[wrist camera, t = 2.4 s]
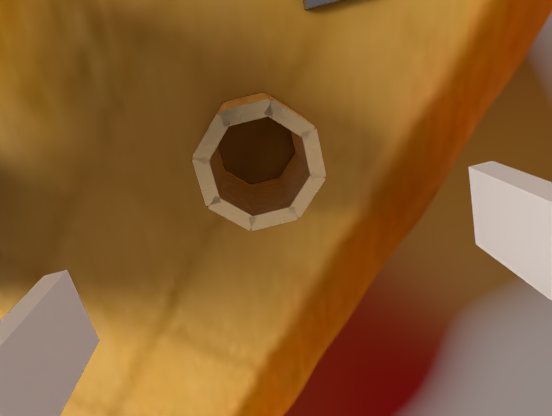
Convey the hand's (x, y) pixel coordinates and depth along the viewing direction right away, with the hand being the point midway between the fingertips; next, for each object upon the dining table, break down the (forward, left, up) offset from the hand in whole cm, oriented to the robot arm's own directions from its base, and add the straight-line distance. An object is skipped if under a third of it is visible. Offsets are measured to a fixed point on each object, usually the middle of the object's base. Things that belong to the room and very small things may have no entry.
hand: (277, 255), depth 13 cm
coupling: (0, 0, -22) cm, 22 cm away
